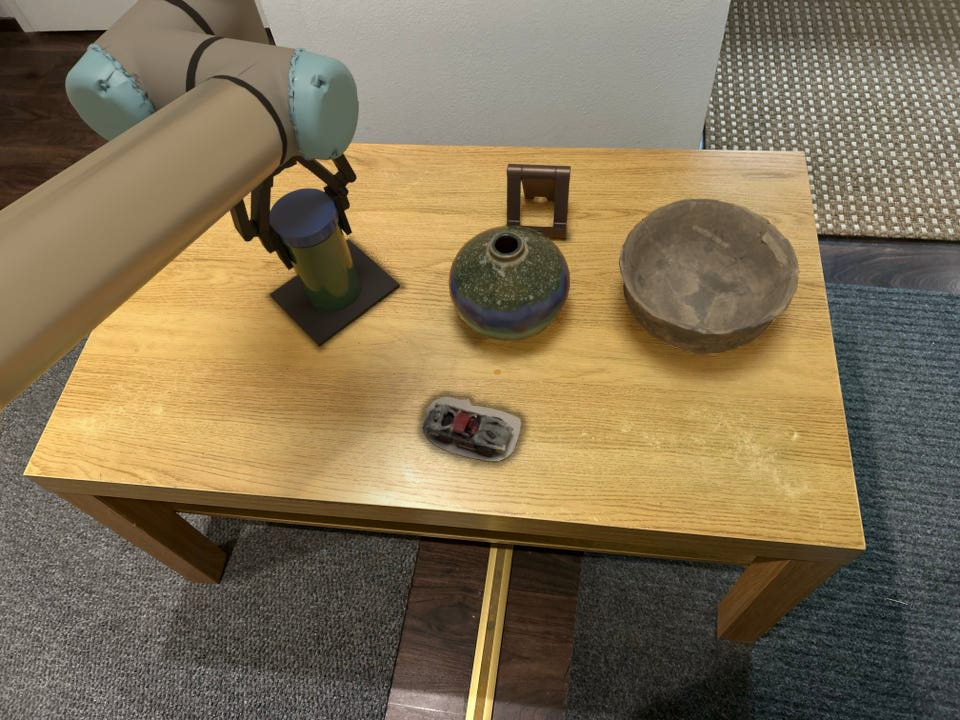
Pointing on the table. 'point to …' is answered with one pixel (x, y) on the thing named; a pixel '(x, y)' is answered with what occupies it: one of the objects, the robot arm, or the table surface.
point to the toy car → (471, 429)
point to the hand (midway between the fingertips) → (315, 244)
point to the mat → (332, 322)
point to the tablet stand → (539, 193)
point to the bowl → (707, 275)
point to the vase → (509, 283)
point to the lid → (304, 217)
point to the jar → (327, 272)
